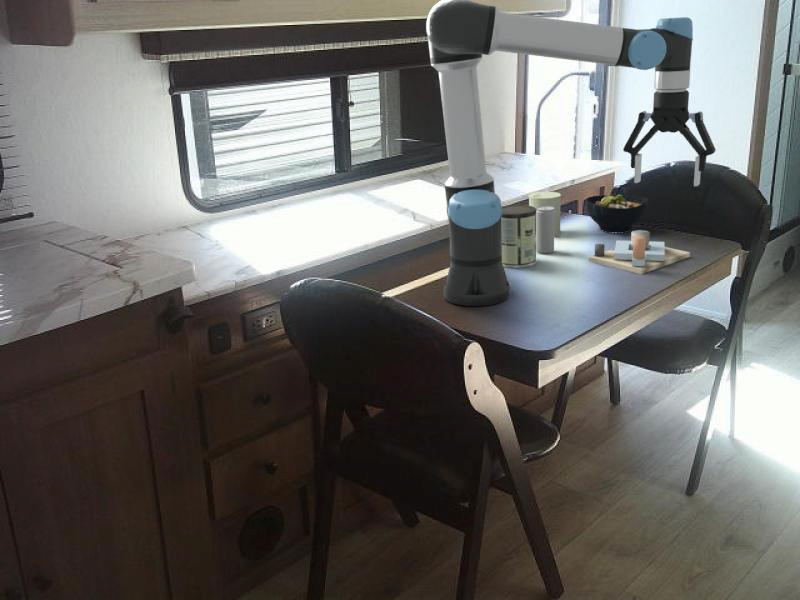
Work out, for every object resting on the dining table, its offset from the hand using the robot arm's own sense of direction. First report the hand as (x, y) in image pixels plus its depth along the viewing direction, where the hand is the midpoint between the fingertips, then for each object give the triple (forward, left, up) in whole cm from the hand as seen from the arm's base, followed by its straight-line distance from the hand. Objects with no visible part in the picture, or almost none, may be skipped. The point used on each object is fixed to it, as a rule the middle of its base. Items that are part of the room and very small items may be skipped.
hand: (666, 183), depth 186 cm
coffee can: (-19, +31, -22) cm, 42 cm away
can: (+7, +45, -22) cm, 50 cm away
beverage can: (-7, +32, -22) cm, 39 cm away
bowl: (+24, +33, -22) cm, 46 cm away
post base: (+4, +10, -21) cm, 24 cm away
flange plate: (+2, +8, -20) cm, 22 cm away
